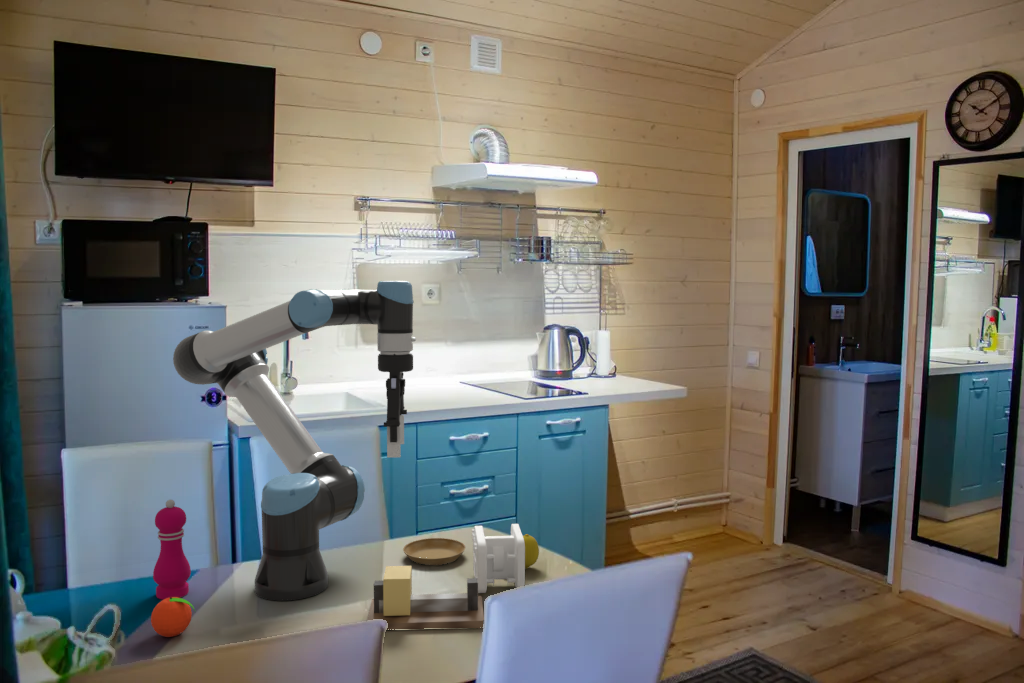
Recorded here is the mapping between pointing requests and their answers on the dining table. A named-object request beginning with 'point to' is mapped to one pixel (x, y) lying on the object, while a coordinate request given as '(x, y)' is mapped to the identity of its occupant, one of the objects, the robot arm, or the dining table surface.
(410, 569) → the slider
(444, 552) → the plant saucer
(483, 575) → the cable organizer
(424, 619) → the rail board
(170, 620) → the clementine
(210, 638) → the dining table surface
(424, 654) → the dining table surface
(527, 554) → the lemon
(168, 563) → the pepper mill
